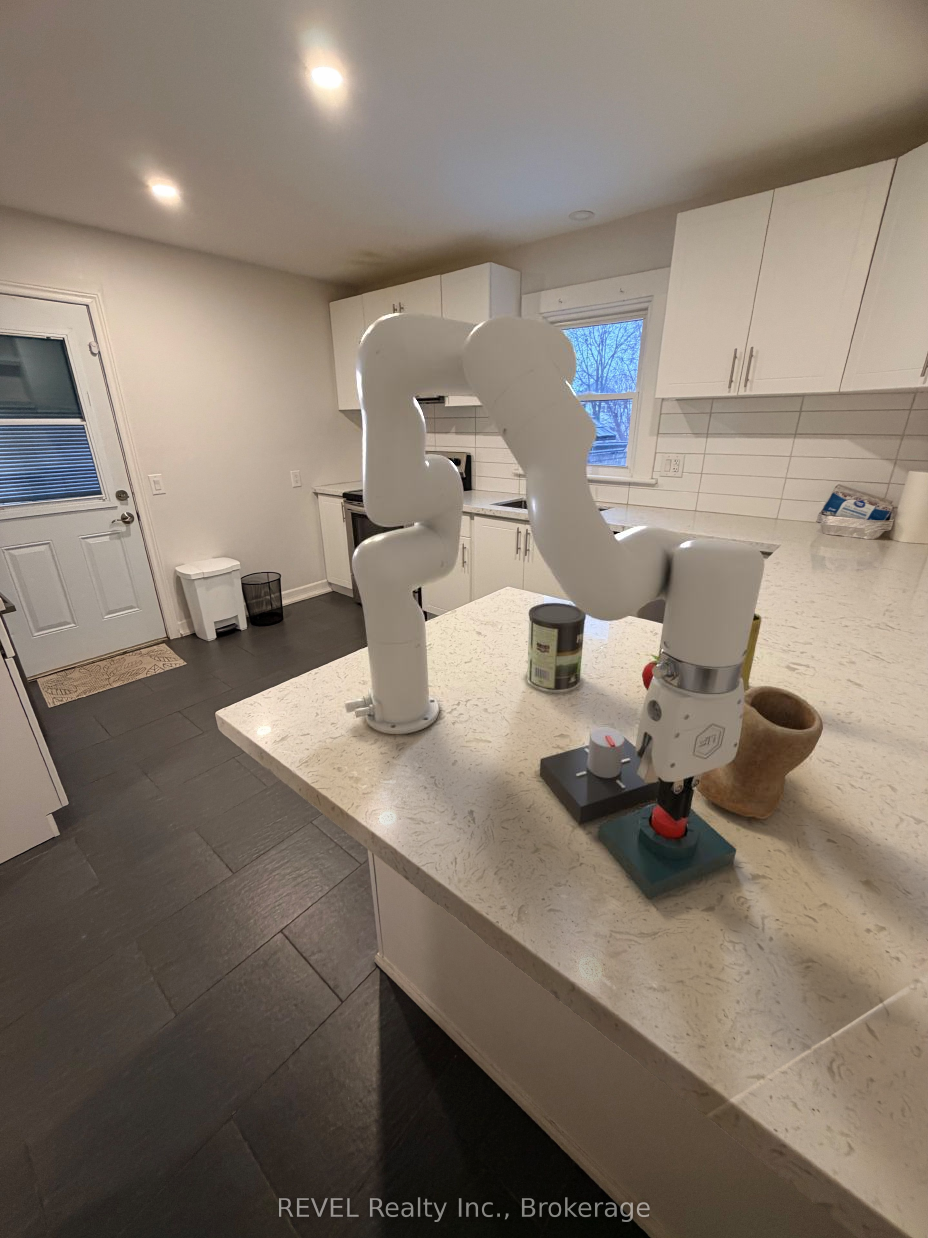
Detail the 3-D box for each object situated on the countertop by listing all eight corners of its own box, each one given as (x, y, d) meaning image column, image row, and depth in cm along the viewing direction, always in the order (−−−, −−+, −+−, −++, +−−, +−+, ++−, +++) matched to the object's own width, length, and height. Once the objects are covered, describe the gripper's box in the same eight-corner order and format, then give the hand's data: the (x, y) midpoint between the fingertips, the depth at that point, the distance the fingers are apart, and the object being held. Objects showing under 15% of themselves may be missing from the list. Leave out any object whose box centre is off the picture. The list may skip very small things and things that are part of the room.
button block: (648, 900, 52) (653, 872, 51) (597, 837, 60) (600, 812, 59) (733, 863, 56) (740, 837, 55) (675, 809, 64) (680, 785, 63)
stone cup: (787, 844, 59) (820, 739, 53) (684, 798, 66) (703, 702, 60) (806, 776, 69) (836, 683, 64) (716, 743, 76) (735, 657, 71)
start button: (666, 843, 55) (668, 831, 54) (644, 820, 58) (646, 809, 57) (691, 833, 56) (694, 822, 55) (668, 811, 59) (670, 800, 58)
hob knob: (582, 758, 69) (585, 726, 67) (613, 755, 70) (617, 724, 68) (593, 779, 65) (596, 746, 63) (625, 777, 66) (630, 744, 63)
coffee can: (579, 669, 99) (585, 603, 94) (580, 696, 90) (586, 625, 85) (528, 665, 101) (530, 600, 96) (523, 691, 92) (526, 621, 87)
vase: (747, 681, 94) (763, 611, 88) (749, 697, 89) (766, 624, 83) (711, 675, 96) (725, 607, 91) (711, 690, 91) (725, 619, 85)
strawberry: (630, 702, 88) (637, 651, 84) (654, 688, 92) (661, 639, 88) (660, 716, 84) (669, 664, 80) (684, 701, 88) (693, 650, 84)
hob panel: (579, 825, 62) (580, 806, 61) (539, 775, 70) (540, 757, 69) (667, 795, 67) (670, 776, 65) (620, 751, 75) (622, 734, 74)
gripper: (665, 701, 43) (641, 857, 50) (787, 668, 48) (749, 814, 55) (611, 664, 49) (596, 807, 56) (724, 639, 54) (697, 773, 61)
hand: (672, 810), depth 56 cm, fingers closed
